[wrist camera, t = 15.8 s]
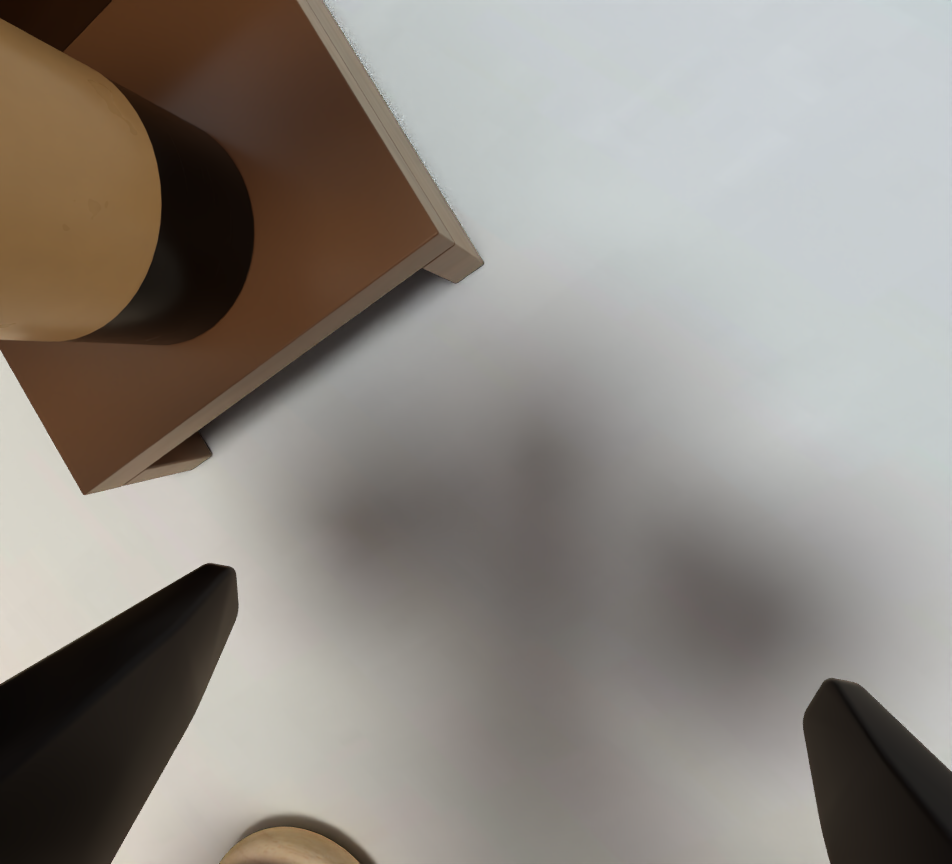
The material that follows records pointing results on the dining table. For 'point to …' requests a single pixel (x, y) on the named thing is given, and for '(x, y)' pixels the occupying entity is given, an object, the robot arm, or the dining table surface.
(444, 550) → the dining table surface
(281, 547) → the dining table surface
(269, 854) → the stacking toy
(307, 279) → the drawer
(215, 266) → the canister
